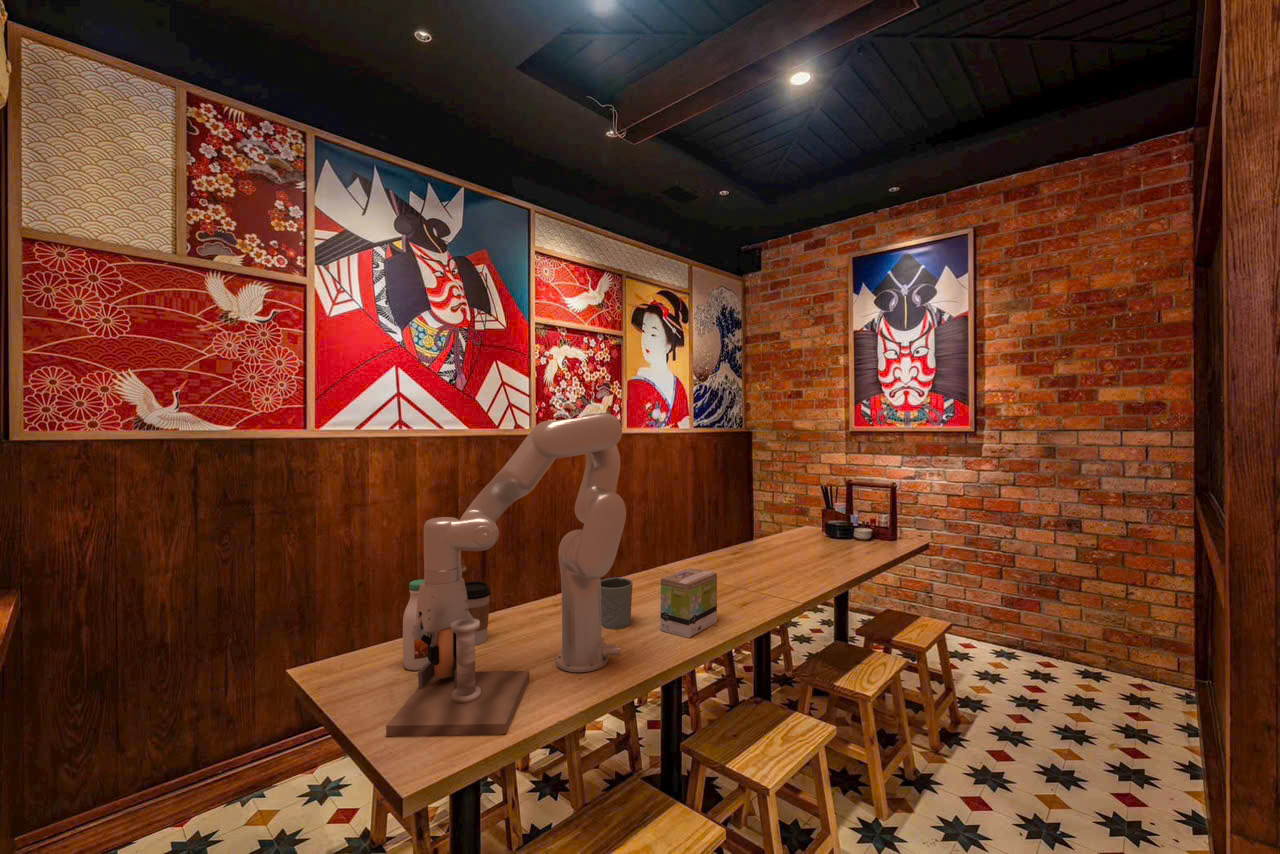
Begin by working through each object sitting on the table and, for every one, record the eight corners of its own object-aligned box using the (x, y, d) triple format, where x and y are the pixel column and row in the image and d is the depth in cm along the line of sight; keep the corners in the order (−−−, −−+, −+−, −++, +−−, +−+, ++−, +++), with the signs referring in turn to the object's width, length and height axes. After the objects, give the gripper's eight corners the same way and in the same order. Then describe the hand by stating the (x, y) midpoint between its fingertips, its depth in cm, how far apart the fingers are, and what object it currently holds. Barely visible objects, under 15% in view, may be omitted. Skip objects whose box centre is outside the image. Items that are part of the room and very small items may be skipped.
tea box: (690, 639, 145) (689, 583, 145) (659, 631, 151) (658, 577, 151) (718, 622, 157) (717, 571, 157) (688, 615, 163) (687, 566, 163)
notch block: (469, 672, 122) (469, 656, 122) (458, 688, 115) (458, 671, 115) (432, 672, 122) (431, 657, 122) (418, 689, 115) (418, 672, 115)
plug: (456, 669, 120) (455, 624, 120) (450, 677, 116) (449, 630, 116) (438, 669, 120) (437, 624, 120) (431, 678, 116) (430, 631, 116)
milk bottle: (400, 673, 127) (399, 587, 127) (405, 659, 134) (404, 578, 134) (436, 668, 129) (435, 584, 129) (439, 655, 136) (437, 575, 136)
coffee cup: (479, 632, 152) (478, 578, 152) (498, 639, 146) (497, 583, 146) (452, 642, 145) (451, 585, 145) (470, 650, 140) (469, 591, 140)
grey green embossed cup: (635, 618, 161) (634, 577, 161) (631, 631, 151) (630, 587, 151) (601, 617, 162) (600, 577, 162) (595, 630, 152) (594, 587, 152)
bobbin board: (529, 679, 123) (528, 604, 123) (505, 734, 101) (504, 642, 101) (431, 681, 123) (430, 605, 123) (386, 736, 101) (385, 644, 101)
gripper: (469, 565, 127) (470, 644, 127) (396, 580, 115) (397, 667, 115) (486, 570, 122) (487, 653, 121) (411, 587, 110) (412, 678, 110)
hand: (443, 659), depth 118 cm, fingers closed on plug, 3 cm apart
